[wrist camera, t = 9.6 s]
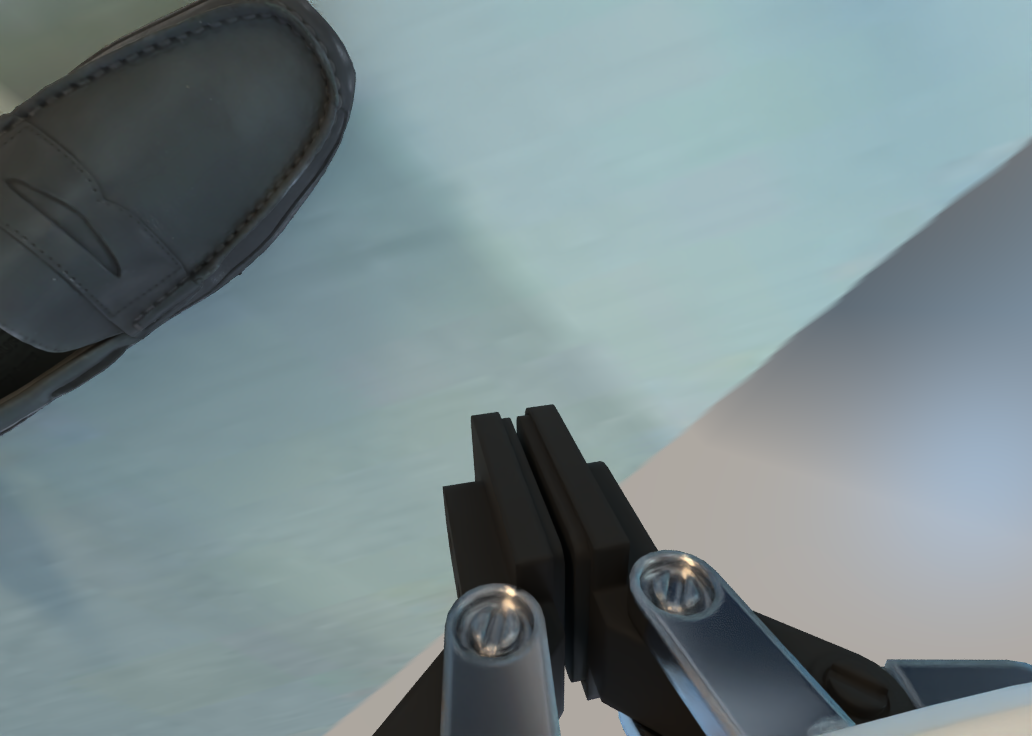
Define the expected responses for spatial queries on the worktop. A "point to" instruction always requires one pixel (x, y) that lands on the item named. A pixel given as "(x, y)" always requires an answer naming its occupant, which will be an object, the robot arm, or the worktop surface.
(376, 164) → the worktop surface
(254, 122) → the loafer
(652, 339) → the worktop surface
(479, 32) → the worktop surface
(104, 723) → the worktop surface
